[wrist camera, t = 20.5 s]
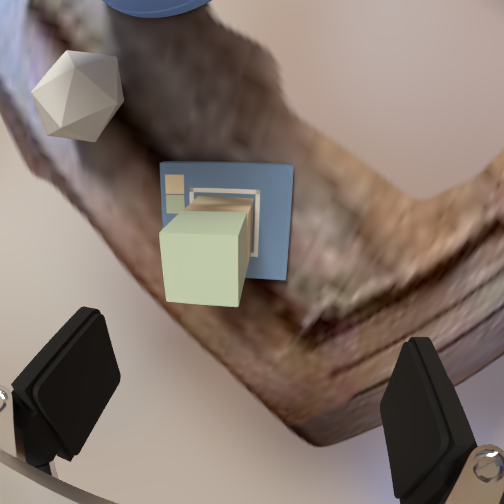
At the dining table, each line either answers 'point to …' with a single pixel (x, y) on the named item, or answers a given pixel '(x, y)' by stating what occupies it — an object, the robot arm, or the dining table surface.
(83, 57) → the die
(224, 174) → the board
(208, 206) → the pine block
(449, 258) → the dining table surface
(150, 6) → the water jug
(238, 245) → the green block
